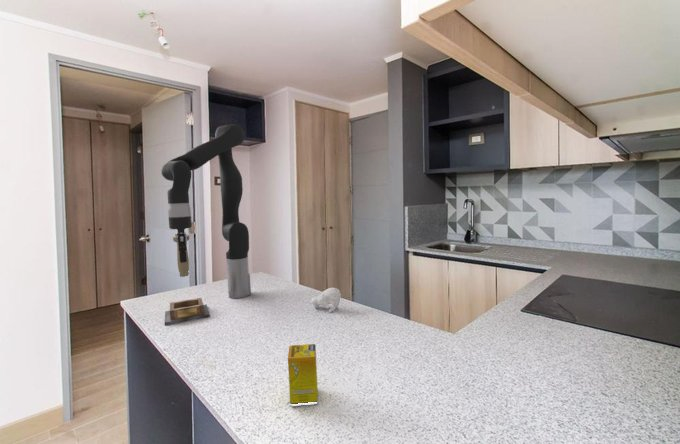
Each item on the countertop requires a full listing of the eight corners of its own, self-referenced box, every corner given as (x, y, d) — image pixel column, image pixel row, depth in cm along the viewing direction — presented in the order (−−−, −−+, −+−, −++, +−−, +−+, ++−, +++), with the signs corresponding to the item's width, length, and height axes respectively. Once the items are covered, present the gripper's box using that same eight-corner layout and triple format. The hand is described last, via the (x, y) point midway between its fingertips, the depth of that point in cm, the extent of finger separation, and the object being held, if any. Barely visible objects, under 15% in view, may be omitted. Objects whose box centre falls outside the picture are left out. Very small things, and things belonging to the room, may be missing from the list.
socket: (206, 306, 134) (206, 296, 134) (210, 316, 123) (209, 305, 122) (165, 313, 128) (164, 302, 127) (164, 325, 116) (163, 313, 116)
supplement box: (291, 390, 75) (289, 345, 74) (317, 388, 76) (315, 343, 75) (289, 407, 69) (287, 358, 68) (318, 405, 70) (316, 356, 69)
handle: (194, 273, 127) (191, 235, 126) (185, 278, 121) (182, 237, 119) (182, 273, 127) (179, 235, 126) (173, 278, 121) (169, 237, 120)
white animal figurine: (334, 290, 121) (306, 290, 126) (337, 313, 122) (309, 312, 127) (341, 285, 127) (314, 286, 132) (344, 307, 128) (316, 307, 132)
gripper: (191, 215, 117) (195, 263, 119) (189, 214, 130) (193, 256, 131) (168, 217, 114) (172, 265, 115) (168, 215, 127) (172, 259, 128)
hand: (183, 260), depth 123 cm, fingers closed on handle, 4 cm apart
